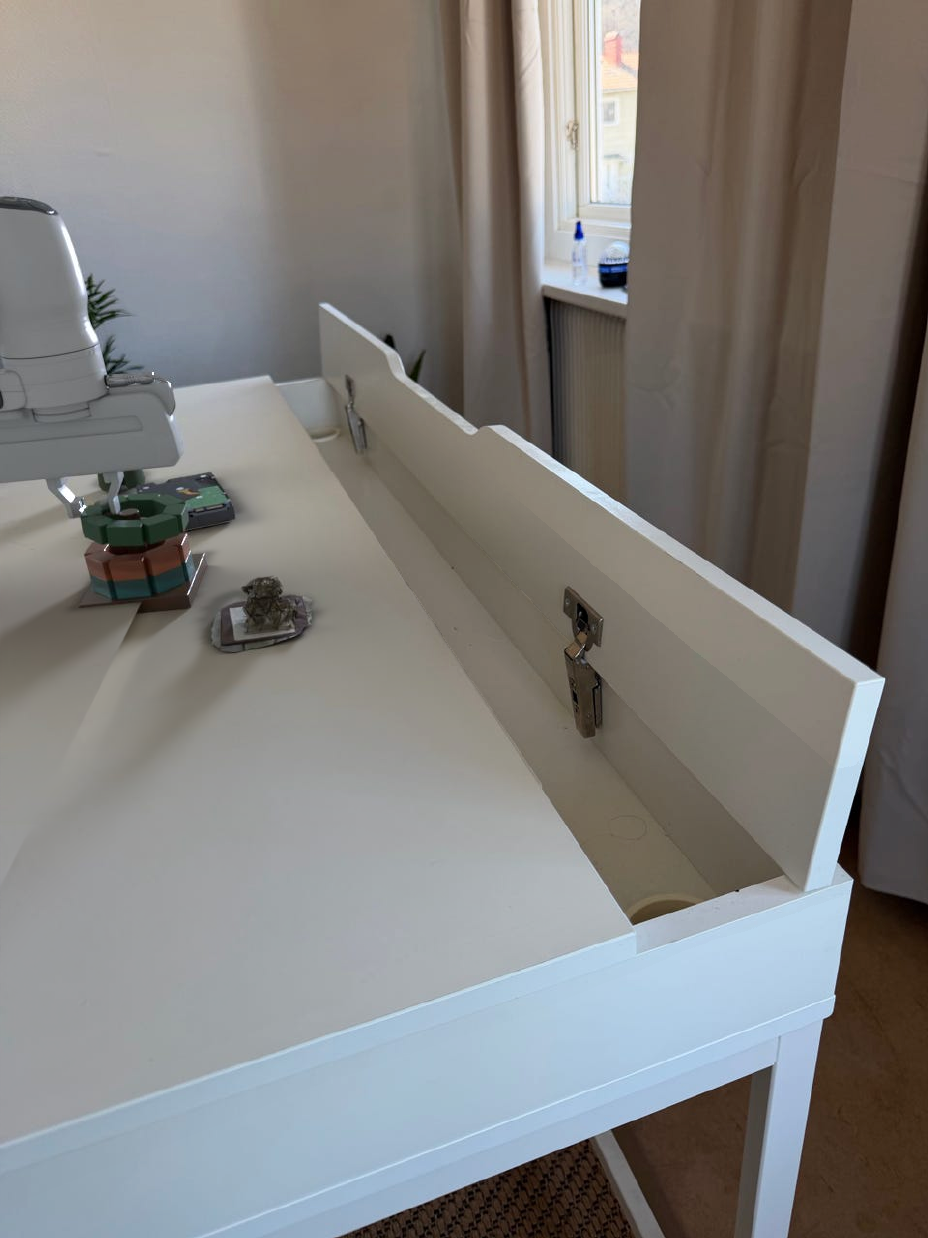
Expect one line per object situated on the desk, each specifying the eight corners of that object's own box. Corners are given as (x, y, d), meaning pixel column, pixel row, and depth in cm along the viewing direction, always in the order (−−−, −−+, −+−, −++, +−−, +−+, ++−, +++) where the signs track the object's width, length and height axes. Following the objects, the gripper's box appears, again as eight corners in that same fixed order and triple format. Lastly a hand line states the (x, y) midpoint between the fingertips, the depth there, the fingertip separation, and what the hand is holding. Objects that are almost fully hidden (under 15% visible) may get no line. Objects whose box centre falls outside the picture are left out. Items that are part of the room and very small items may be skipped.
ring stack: (82, 618, 96) (58, 536, 92) (108, 574, 106) (88, 498, 102) (191, 607, 96) (172, 525, 92) (207, 565, 106) (191, 489, 102)
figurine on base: (275, 573, 100) (329, 557, 92) (291, 632, 100) (347, 622, 92) (170, 599, 92) (219, 585, 84) (188, 663, 93) (239, 655, 84)
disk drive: (138, 505, 127) (154, 538, 114) (133, 485, 126) (149, 517, 113) (215, 489, 130) (238, 520, 118) (211, 470, 129) (234, 499, 117)
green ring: (74, 547, 93) (70, 528, 92) (99, 511, 102) (96, 494, 101) (177, 545, 94) (175, 526, 93) (194, 510, 103) (192, 492, 102)
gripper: (174, 362, 94) (202, 494, 100) (-36, 382, 93) (6, 513, 99) (161, 376, 88) (192, 515, 94) (-62, 397, 87) (-16, 536, 94)
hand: (95, 514), depth 97 cm, fingers closed on green ring, 2 cm apart
